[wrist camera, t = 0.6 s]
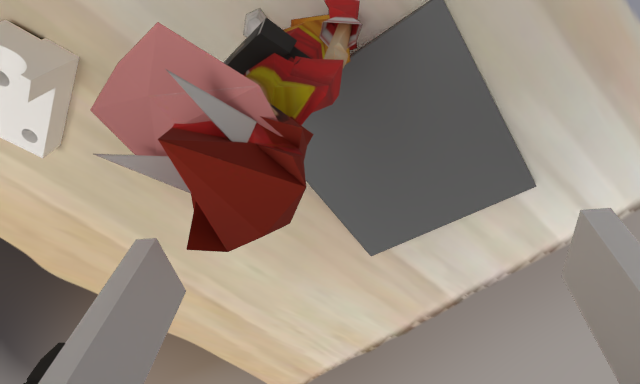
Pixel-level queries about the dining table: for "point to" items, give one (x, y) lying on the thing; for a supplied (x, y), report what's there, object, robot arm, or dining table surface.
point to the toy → (229, 118)
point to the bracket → (34, 89)
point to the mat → (411, 136)
